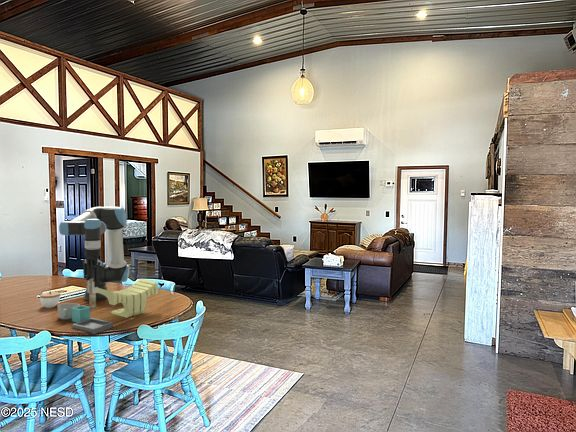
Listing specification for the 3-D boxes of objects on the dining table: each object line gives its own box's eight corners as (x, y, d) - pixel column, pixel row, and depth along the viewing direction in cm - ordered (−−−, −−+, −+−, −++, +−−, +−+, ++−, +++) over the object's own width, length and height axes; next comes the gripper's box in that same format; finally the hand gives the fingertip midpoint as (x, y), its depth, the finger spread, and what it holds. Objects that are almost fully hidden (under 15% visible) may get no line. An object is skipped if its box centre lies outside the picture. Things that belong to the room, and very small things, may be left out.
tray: (72, 329, 205) (72, 324, 205) (92, 322, 216) (92, 317, 216) (93, 334, 198) (93, 329, 198) (113, 327, 209) (113, 322, 209)
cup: (72, 322, 215) (71, 308, 214) (82, 319, 221) (82, 305, 220) (80, 324, 212) (80, 309, 212) (90, 321, 218) (90, 306, 218)
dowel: (88, 309, 205) (88, 279, 205) (93, 307, 208) (93, 278, 207) (92, 310, 204) (92, 279, 203) (97, 308, 207) (97, 278, 206)
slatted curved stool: (114, 323, 215) (114, 291, 214) (96, 318, 223) (96, 287, 222) (157, 310, 240) (158, 282, 239) (140, 306, 248) (140, 278, 247)
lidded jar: (64, 305, 247) (64, 290, 246) (48, 309, 237) (48, 294, 236) (51, 303, 250) (51, 288, 250) (35, 307, 240) (35, 292, 240)
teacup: (63, 315, 226) (63, 302, 226) (82, 315, 227) (82, 302, 226) (50, 323, 212) (50, 309, 212) (71, 323, 213) (71, 309, 213)
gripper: (75, 248, 204) (75, 292, 206) (97, 250, 198) (97, 296, 199) (88, 246, 211) (88, 289, 212) (109, 248, 205) (109, 293, 206)
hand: (92, 292), depth 206 cm, fingers closed on dowel, 3 cm apart
